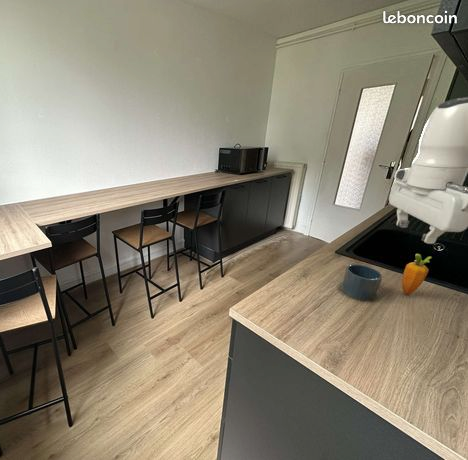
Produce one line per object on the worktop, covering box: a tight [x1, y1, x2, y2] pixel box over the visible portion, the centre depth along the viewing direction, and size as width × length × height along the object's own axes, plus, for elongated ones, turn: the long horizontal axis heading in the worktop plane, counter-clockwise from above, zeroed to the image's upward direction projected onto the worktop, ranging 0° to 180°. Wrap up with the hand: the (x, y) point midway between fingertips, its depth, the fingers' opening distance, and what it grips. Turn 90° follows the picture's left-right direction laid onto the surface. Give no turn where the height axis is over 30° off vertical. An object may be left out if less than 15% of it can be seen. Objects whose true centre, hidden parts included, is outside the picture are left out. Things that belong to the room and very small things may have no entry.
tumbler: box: [340, 264, 383, 302], centre depth 82 cm, size 9×9×8 cm
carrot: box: [401, 253, 433, 296], centre depth 78 cm, size 5×5×15 cm
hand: (413, 234), depth 62 cm, fingers open, 8 cm apart
